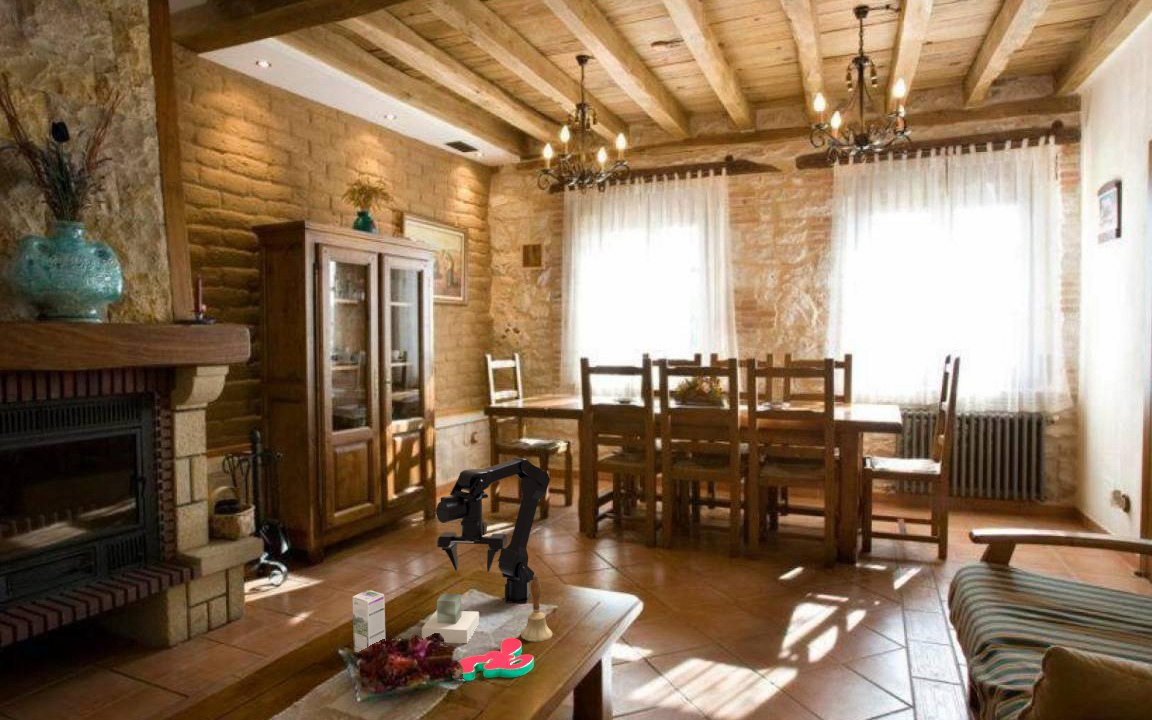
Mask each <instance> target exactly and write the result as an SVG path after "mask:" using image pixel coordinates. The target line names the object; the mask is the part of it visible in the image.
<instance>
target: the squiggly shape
mask: <svg viewBox="0 0 1152 720" xmlns="http://www.w3.org/2000/svg"><path fill="white" fill-rule="evenodd" d="M499 650H500V651H498V650H492V651H489V652H487V653H485V654H484V655H472V656H468V657H467V656H466V657H465V658H462V659H460V660H459V661H458V662H460V663H461V665H462V667H463V673H462V674H463V678H464V680H466V681H465V682H471V681H473V680H474V679H475V678H476V673H478V672H483V673H482V675H483V677H484V678H498V677H501V678H517V677H521V676H524V675H526V674H528V673H529V672H530V671H531V670H533V668H534V666H535V658H534V655H532V654H521V653H523V643H522V641H521V640H519V639H517V638H515V637H510V638H509V637H508V638H505V639H503V640H502V641H501V642H500V646H499ZM478 670H479V671H478ZM477 671H478V672H477Z"/></svg>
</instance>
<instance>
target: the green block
mask: <svg viewBox="0 0 1152 720" xmlns="http://www.w3.org/2000/svg"><path fill="white" fill-rule="evenodd" d="M436 610H437V623H448V624H456V623H457V622H458V620H459V619H460V618H461V616H462V613H461V611H462V594H461V593H447V592H446V593H442V594H441V595H440V597H438V599H437V600H436Z"/></svg>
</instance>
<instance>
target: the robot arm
mask: <svg viewBox="0 0 1152 720" xmlns="http://www.w3.org/2000/svg"><path fill="white" fill-rule="evenodd" d="M515 475H516V477H518V478H519V480H521V483H520V489H521V495H522V498H521V502H520V506H519V509H518V514H517V516H516V517H517V518H516V521H515V524H514V527H513V532H512V535H511V536H512V537H511V539H510V542H509V544H508V539H507V538H508V537H507V535H506V534H505V533H492V534H491V535H490V536H485V535H487V532H488V531H487V530H488V523H487V522H485V521H484V517H483V500H484V499H488V498H489V495H488V494H487V493H486V492H485V490H487V489H488V488H489V487H490V485H492V484H493V483H496V482H498V481H501V480H504V479H507V478H509V477H513V476H515ZM550 480H551V477H550V475H549V473H548V472H547V471H546V470H542V469H541V468H539V467H538V466H536V465H534V464H532V463H531V462H530V461H529V460H528V459H526V458H524V457H523V458H522V457H514V458H512V459H510V460H506V461H504V462H500V463H497V464H495V465H491V466H489V467H485V468H472V469H465V470H462V471H461V472H460V473H459V475H458V478H457V479H456V481H455V484H454V485H453V488H451V489H452V490H451V491H450V494H449V496H441V497H440V501H439V503H437V504H436V505H437V506H436V508H435V514H436V518H437V519H438V521H439V522H440V523H441V524H445V523H446V524H447V523H450V522H454V521H457V520H461V521H460V526H461V536H459V535H457V533H456V532H453V531H452V532H449V531H448V532H447V531H446V532H445V531H444V532H442V534H441V535H439V536H438V538H437V539H436V545H437V547H438V548H441V551H445V553H446V555H447V556H448V559H449V560H450V561H451V562H450V563H451V564H452V566H453V568H454V570H455V571H458V570H459V561H458V545H459V544H467V545H470V544H473V545H487V546H488V547H489V548H488V549H487V558H486V571H487V573H488V572H490V571H491V567H492V564H493V561H494V558H495V555H496V553H498V552H499V551H500V554H499V557H498V559H497V562H498V567H497V568H498V569H499V571H500V572H501V576H502V577H503V578H506V583H504V598H505V603H518V604H519V603H520V604H521V603H522V604H526V603H527V602H528V601H529V599H530V597H531V593H530V582H532V580H533V576H534V575H535V571H533V570H532V569H531V568H530V567H529V565H528V563H529V554H528V550H527V547H528V546H527V545H528V542H529V539H530V536H531V535H530V534H531V531H532V527H533V524H534V523H533V522H534V519H535V515H536V511H537V508H538V503H539V501H540V500H541V499H542V497H543V496H544V495H545V494H546V492H547V490H548V487H549V486H550V482H551V481H550ZM507 544H508V545H507ZM506 545H507V546H506ZM505 546H506V547H505Z"/></svg>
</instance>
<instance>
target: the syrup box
mask: <svg viewBox="0 0 1152 720" xmlns="http://www.w3.org/2000/svg"><path fill="white" fill-rule="evenodd" d="M385 603H386V601H385V593H381V592H378V591H374V590H371V589H368V590H364V591H362V592H360V593H358V594H356V595H353V596H352V621H353V624H352V625H353V626H352V628H353V629H352V630H353V653H354V652H359V651H361V650H363V649H365V648H367V647H369V646H370V645H372V644H374V643H376V642H379V641H380V640H382V639H385V640H386V615H385V613H386V610H385V609H386V607H385V605H386V604H385Z"/></svg>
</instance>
